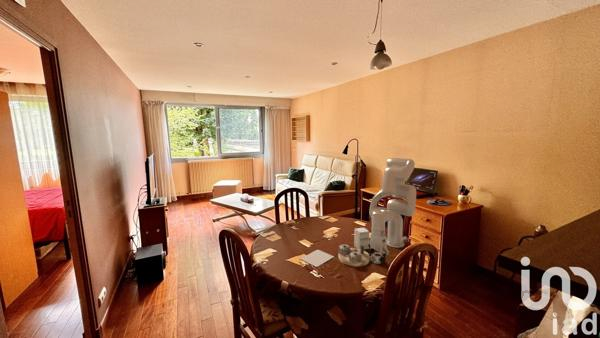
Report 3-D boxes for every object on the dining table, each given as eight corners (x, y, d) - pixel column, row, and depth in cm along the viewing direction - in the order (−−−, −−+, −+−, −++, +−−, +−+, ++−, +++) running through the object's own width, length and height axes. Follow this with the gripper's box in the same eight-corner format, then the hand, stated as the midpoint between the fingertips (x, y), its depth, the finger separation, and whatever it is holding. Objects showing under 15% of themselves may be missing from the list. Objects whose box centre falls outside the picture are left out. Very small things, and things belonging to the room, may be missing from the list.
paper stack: (346, 263, 143) (347, 262, 142) (319, 281, 125) (319, 280, 125) (317, 250, 159) (317, 249, 159) (289, 264, 142) (289, 263, 142)
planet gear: (377, 257, 148) (377, 251, 148) (386, 262, 142) (386, 256, 141) (368, 259, 145) (368, 253, 145) (376, 265, 139) (377, 258, 138)
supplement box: (359, 250, 157) (359, 232, 155) (353, 245, 164) (354, 228, 162) (369, 249, 159) (369, 231, 157) (363, 244, 166) (363, 227, 164)
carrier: (356, 248, 160) (356, 238, 159) (376, 261, 143) (376, 250, 142) (332, 254, 152) (332, 244, 151) (350, 269, 135) (350, 258, 134)
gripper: (394, 235, 135) (393, 264, 137) (372, 225, 150) (372, 251, 153) (384, 238, 132) (383, 267, 134) (363, 227, 147) (362, 254, 150)
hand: (377, 258), depth 143 cm, fingers open, 8 cm apart
